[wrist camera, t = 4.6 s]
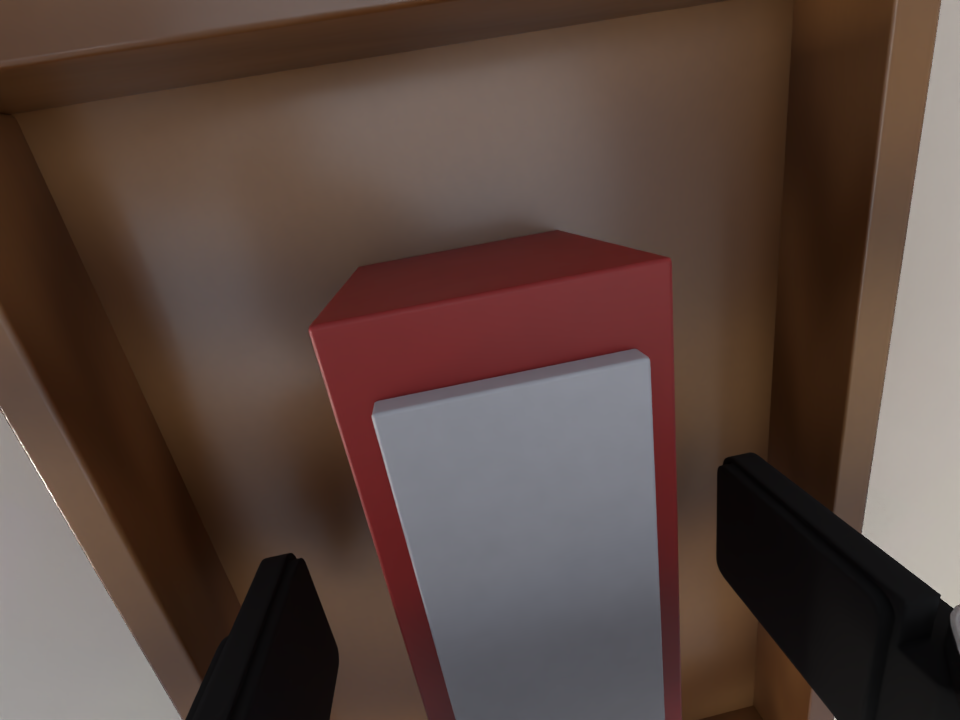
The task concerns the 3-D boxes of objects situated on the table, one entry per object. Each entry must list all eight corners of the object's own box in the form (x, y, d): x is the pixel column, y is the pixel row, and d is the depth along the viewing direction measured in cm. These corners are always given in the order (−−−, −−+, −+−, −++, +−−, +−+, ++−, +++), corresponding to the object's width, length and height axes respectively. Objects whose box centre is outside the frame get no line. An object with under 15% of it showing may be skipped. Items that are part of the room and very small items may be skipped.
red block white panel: (356, 266, 9) (296, 337, 5) (559, 228, 10) (692, 261, 5) (468, 700, 14) (494, 957, 9) (604, 667, 14) (697, 900, 9)
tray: (-41, 72, 8) (-233, 21, 6) (820, -58, 9) (966, -150, 7) (320, 818, 15) (303, 929, 13) (766, 703, 16) (824, 788, 14)
